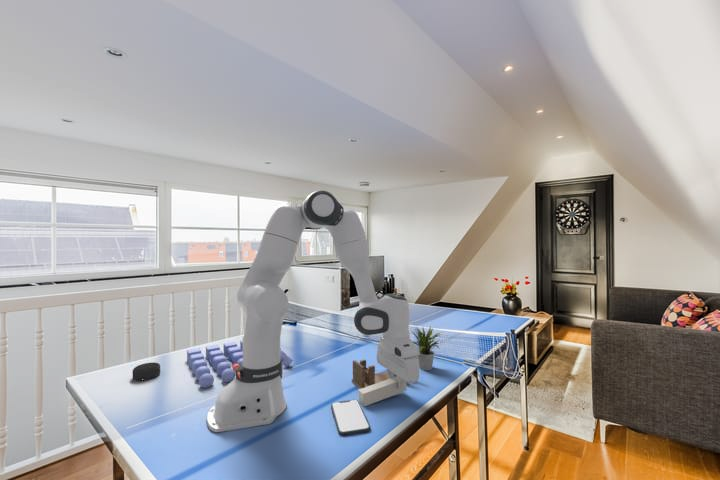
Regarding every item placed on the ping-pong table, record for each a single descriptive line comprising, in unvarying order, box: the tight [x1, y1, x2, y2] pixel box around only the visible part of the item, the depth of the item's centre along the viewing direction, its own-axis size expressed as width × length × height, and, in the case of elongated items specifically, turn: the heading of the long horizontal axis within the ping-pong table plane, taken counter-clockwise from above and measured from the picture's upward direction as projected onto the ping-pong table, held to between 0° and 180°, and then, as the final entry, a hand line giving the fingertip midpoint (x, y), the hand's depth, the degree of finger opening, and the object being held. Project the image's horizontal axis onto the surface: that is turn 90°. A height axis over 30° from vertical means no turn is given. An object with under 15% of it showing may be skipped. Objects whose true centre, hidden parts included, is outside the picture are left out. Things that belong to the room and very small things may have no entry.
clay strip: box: [357, 376, 408, 407], centre depth 106 cm, size 16×3×4 cm, turn 117°
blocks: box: [186, 340, 294, 389], centre depth 137 cm, size 35×34×5 cm
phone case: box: [330, 399, 371, 437], centre depth 95 cm, size 9×2×16 cm
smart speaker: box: [132, 362, 161, 381], centre depth 125 cm, size 9×9×4 cm
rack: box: [351, 359, 397, 390], centre depth 119 cm, size 20×9×8 cm, turn 118°
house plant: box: [411, 325, 443, 371], centre depth 130 cm, size 14×14×16 cm
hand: (396, 385), depth 108 cm, fingers closed on clay strip, 3 cm apart
